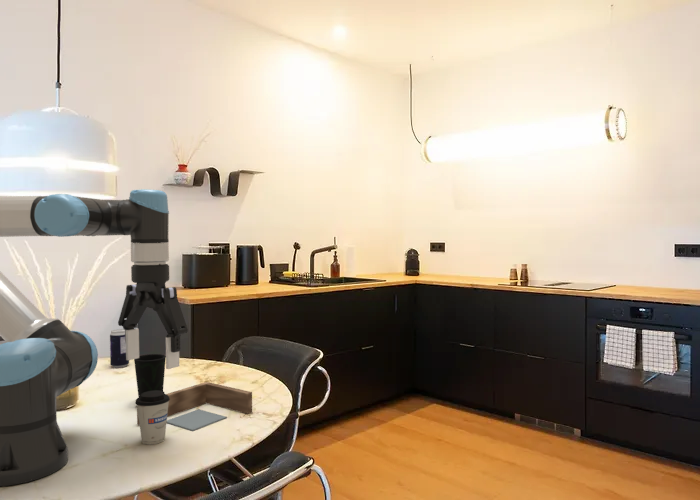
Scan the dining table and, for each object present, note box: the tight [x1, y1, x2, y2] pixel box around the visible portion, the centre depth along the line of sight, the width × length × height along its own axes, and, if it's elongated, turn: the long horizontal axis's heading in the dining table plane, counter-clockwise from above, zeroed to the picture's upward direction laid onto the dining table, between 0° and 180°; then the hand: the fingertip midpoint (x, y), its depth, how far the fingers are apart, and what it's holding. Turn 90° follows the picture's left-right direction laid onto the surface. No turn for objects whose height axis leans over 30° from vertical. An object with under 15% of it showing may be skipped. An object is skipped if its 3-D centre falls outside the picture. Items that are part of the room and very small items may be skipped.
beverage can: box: [109, 328, 130, 369], centre depth 176 cm, size 6×6×12 cm
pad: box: [166, 408, 228, 432], centre depth 125 cm, size 10×10×1 cm
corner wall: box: [136, 381, 253, 426], centre depth 126 cm, size 20×16×5 cm
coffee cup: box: [134, 390, 170, 445], centre depth 113 cm, size 7×7×10 cm
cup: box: [133, 353, 166, 398], centre depth 137 cm, size 8×8×12 cm
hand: (152, 363), depth 112 cm, fingers open, 13 cm apart
